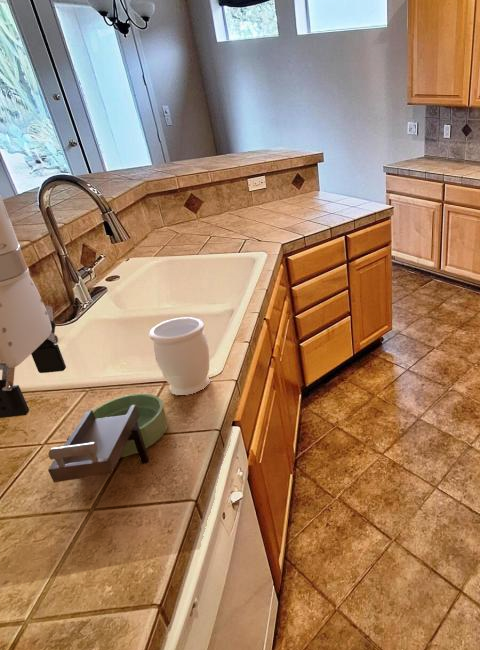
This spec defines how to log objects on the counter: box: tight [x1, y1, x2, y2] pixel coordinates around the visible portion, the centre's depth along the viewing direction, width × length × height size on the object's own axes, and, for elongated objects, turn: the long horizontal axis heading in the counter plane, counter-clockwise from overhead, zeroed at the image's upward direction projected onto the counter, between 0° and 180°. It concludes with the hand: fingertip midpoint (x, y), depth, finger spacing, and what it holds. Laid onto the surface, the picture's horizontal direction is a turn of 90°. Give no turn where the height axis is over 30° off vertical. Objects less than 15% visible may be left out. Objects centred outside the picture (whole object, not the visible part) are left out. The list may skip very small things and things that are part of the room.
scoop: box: [47, 405, 139, 483], centre depth 70 cm, size 8×14×6 cm, turn 13°
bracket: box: [66, 426, 150, 465], centre depth 74 cm, size 11×1×8 cm, turn 103°
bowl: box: [92, 392, 169, 459], centre depth 81 cm, size 13×13×5 cm
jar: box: [148, 316, 211, 396], centre depth 94 cm, size 11×10×15 cm
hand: (34, 391), depth 56 cm, fingers open, 9 cm apart
